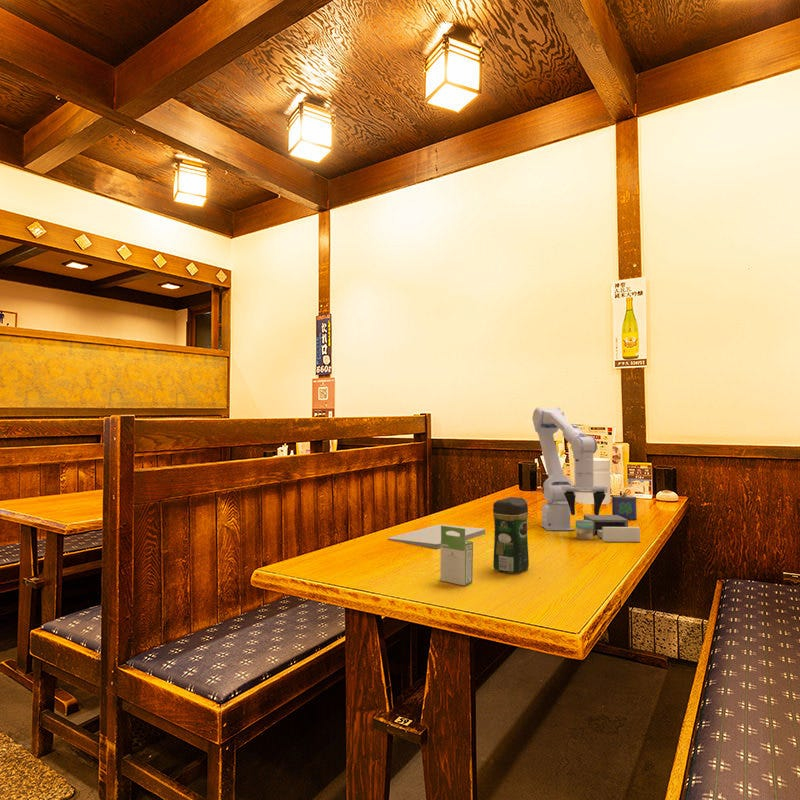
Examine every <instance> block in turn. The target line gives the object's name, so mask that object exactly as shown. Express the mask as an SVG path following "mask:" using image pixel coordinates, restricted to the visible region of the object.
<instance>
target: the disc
mask: <svg viewBox="0 0 800 800" xmlns="http://www.w3.org/2000/svg"><path fill="white" fill-rule="evenodd" d="M575 528H576V529H577V528H579V529H593V521H590V520H584V519H575Z"/></svg>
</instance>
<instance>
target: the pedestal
mask: <svg viewBox="0 0 800 800" xmlns="http://www.w3.org/2000/svg"><path fill="white" fill-rule="evenodd" d="M593 536H594V535H593V529H579V528H576V538H577V539H579V540H587V541H588V540H594V537H593Z"/></svg>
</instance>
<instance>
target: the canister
mask: <svg viewBox="0 0 800 800" xmlns="http://www.w3.org/2000/svg"><path fill="white" fill-rule="evenodd" d="M573 466H574V469H573V477H574V481H573V482H574V483H573V486H575V459H574V458H573ZM593 480H594V486H606V487H608V493H604V494H605V498H604V500H603V502H602V504H606V505H610V504H612V496H611V459H610V458H604V457H603V458H600V457H593ZM579 491H591V490H579ZM577 502H578V504H582V503H583V505H591V504H594V497H593V493H584V492H576V497H575V503H577ZM609 503H610V504H609Z"/></svg>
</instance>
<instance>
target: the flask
mask: <svg viewBox="0 0 800 800" xmlns="http://www.w3.org/2000/svg"><path fill="white" fill-rule="evenodd" d="M637 511H638V510H637V496H633V495H632V496H630V495H627V492H626V491H623V492H622V494H619V495H618V494H616V495H612V496H611V513H612V514H611V515H619V516H621V517H623V518H625V519H627V520H628V521H637Z"/></svg>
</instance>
